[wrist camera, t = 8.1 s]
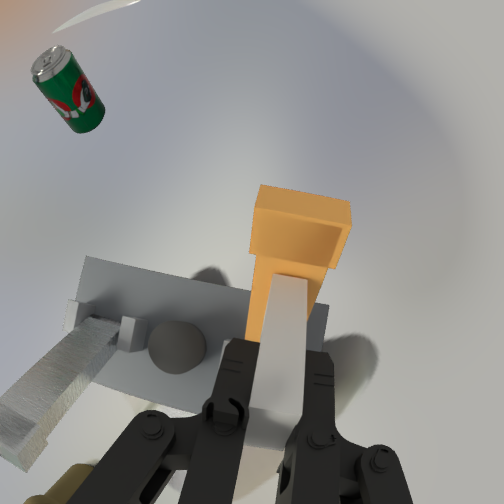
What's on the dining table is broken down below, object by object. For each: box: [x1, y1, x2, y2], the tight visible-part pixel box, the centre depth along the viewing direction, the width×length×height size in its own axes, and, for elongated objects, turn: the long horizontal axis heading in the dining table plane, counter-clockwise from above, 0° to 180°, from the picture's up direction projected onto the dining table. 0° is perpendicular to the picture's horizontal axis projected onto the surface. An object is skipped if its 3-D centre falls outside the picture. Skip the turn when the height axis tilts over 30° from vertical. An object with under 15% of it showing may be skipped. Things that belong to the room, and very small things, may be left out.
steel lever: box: [0, 314, 121, 473], centre depth 16 cm, size 2×4×14 cm
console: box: [63, 256, 329, 414], centre depth 25 cm, size 10×20×9 cm, turn 79°
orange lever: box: [245, 185, 352, 342], centre depth 17 cm, size 2×4×14 cm
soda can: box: [31, 46, 105, 133], centre depth 29 cm, size 5×5×12 cm
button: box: [148, 320, 207, 375], centre depth 21 cm, size 4×4×2 cm
